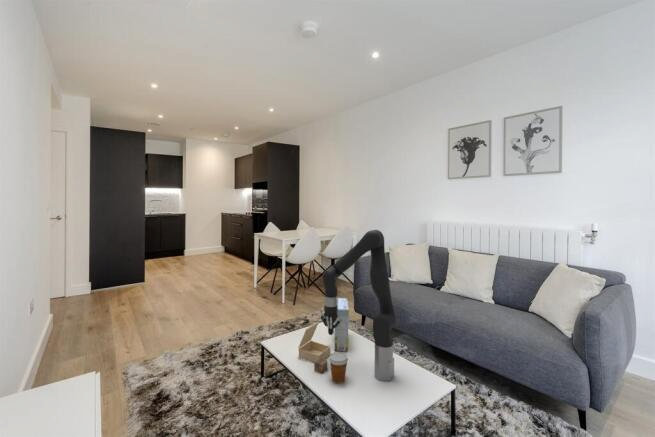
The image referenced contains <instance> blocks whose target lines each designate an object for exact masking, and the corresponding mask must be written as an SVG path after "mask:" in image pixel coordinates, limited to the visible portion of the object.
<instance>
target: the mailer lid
mask: <svg viewBox="0 0 655 437" xmlns="http://www.w3.org/2000/svg"><path fill="white" fill-rule="evenodd" d="M319 323H320V321H319V320H318V321H317V322H315V323H314V324H312V325H310V326H309V327H307V328H305V331H304V334H303V335H302V337H301V340H300V343H299V344H298V349H299V348H301V347H302V346H304V345H305V344H307V343H308V342H310V341H312V339H313V337H314V334H315V333H316V330H317V328H318V325H319Z"/></svg>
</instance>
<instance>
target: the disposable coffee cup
mask: <svg viewBox="0 0 655 437" xmlns="http://www.w3.org/2000/svg"><path fill="white" fill-rule="evenodd" d="M328 360H329V364H330V365H329V366H330V372H331V380H332V382H333V383H336V384H342V383H344V382H345V380H346V372H347V366H348V361H349V358H348V355H347V354H346V353H344V352H342V351H335V352H332V353H331V355H330V356H329V357H328Z"/></svg>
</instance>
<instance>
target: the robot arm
mask: <svg viewBox="0 0 655 437" xmlns="http://www.w3.org/2000/svg"><path fill="white" fill-rule="evenodd" d="M385 248H386V247H385V235H384V234H383V233H382V232H381V231H380V230H378V229H371V230H368V231H366V232H365V233H364V235H363V236H362V237H361V239H360V240H359V241H358V242H357V243H356V244H355V246H353V247H352V248H351V249H350V250H349V251H348V252H346V253H344V255H343V256H341V257H340V258H339V259H338V260H336V262H335V263H334V264H333V265H331V267H329V268H327V269H325V270H324V271H323V272H322V273H323V274H322V281H323V282H322V283H323V287H324V297H323V299H324V300H323V304H324V305H323V312H324V313H323V315H321V316H320V319H321V321H322V323H323V324H324V326H325V327H327V333H328V335H330V336H333V335H334V331H335V328H336V327H337V326H338V325H339V324H340V322H341V321H342V320H341V319H339V318H338V315H337V313H338V298H339V297H338V286H337V285H336V283H335V282H336V280H337V279H338V278H339V277H340V276H341V275H342V274H344V272H347V271H348V269H350V268H351V267H352V266H353V265H354V264H356V263H357V261H358V260H360V259H361V257H362V256H364V255H365V254H366V253H368V252H370V256H371V259H370V267H369V268H370V269H369V278H370V279H369V280H370V285H371V289H372V290H373V292H374V294H375V296H376V299H377V300H378V304H379V313H377V314H375V316H374V317H373V320H372V336H373V339H374V370H373V371H374V372H373V373H374V374H373V375H374V377H375V378H376V379H377V380H379V381H382V382H383V381H384V382H391V381H392V379H393V378H394V376H395V357H394V339H393V337H392V336H391V333H390V331H391V329H393V328H394V327H395V325H396V322H397V320H396V313H395V310H394V309H395V308H394V304H393V301H392V294H391V287H390V286H391V285H390V279H389V278H390V277H389V272H388V265H387V261H386V260H387V259H386V254H385ZM336 320H337V321H336ZM335 321H336V322H337V323H336V324H335Z"/></svg>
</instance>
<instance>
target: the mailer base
mask: <svg viewBox="0 0 655 437" xmlns="http://www.w3.org/2000/svg"><path fill="white" fill-rule="evenodd" d="M331 348H332V346H330V345H325V344H323V343H320V342H317V341H313V340H310V341H309V342H307V343H306V344H304V345H303V346H301V347H300V348H298V358H300V359H302V360H305V361H308V362H311V363H313V364H314V362H315V361H316V360H318V359H319V358H321V359H324V360H326V359H327V358H329V357H330V355H331V354H332V353H331Z"/></svg>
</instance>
